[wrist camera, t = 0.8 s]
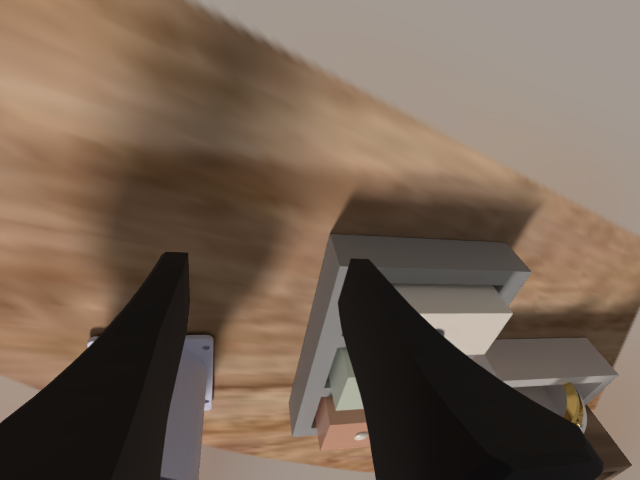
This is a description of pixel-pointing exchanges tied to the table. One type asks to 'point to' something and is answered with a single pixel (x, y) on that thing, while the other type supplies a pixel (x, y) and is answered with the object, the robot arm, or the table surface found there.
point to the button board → (398, 267)
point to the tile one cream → (460, 312)
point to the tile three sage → (344, 383)
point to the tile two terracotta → (340, 427)
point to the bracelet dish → (548, 368)
